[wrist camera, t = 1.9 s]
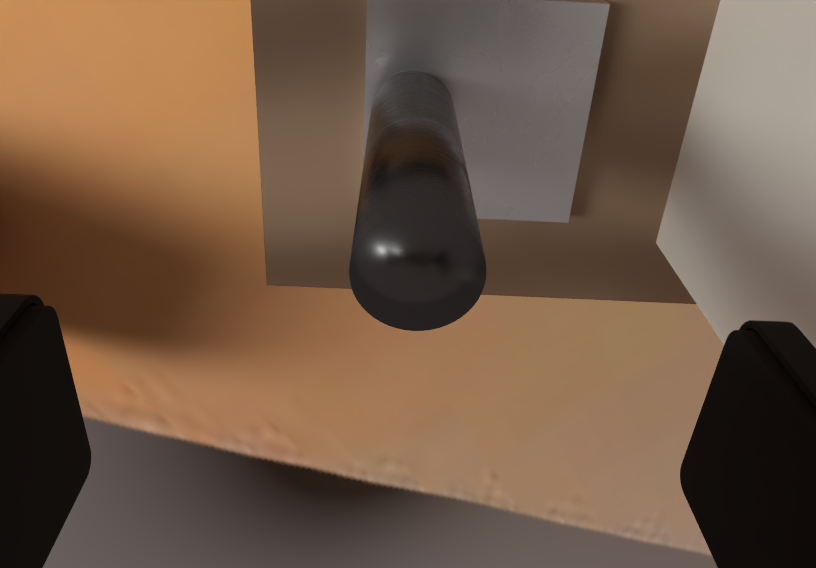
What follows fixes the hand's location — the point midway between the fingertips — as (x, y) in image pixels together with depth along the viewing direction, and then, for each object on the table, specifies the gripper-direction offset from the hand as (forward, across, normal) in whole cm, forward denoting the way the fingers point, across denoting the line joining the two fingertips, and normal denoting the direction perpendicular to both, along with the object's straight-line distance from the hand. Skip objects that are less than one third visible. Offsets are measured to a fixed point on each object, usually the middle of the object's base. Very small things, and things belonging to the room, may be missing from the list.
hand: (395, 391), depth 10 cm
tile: (+14, -11, 0) cm, 18 cm away
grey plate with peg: (+14, -3, 0) cm, 15 cm away
